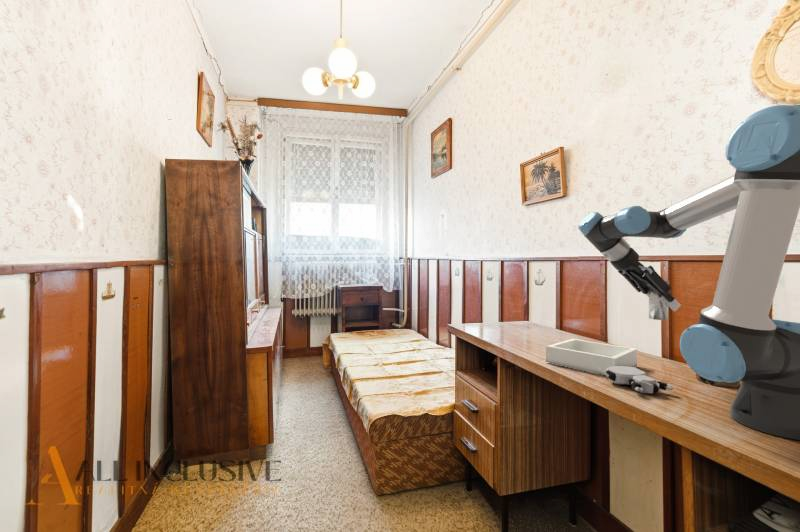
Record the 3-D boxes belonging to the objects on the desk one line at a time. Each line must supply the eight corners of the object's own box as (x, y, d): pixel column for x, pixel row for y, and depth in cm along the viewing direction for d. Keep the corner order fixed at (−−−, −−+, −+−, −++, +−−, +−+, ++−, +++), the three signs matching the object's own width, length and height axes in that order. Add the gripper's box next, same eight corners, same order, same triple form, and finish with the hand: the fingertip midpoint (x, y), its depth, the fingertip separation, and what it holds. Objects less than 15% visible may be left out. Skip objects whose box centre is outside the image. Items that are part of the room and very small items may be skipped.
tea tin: (666, 320, 110) (666, 281, 111) (646, 318, 114) (646, 280, 114) (670, 319, 114) (670, 281, 114) (650, 317, 118) (651, 280, 118)
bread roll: (741, 401, 103) (756, 377, 103) (704, 383, 105) (718, 359, 105) (718, 390, 113) (731, 368, 112) (685, 373, 115) (698, 351, 114)
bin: (614, 378, 111) (615, 358, 111) (545, 363, 128) (546, 346, 128) (636, 366, 126) (637, 348, 126) (572, 353, 142) (572, 338, 143)
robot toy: (676, 399, 97) (631, 378, 111) (678, 383, 96) (633, 363, 111) (636, 401, 95) (596, 379, 109) (638, 384, 94) (597, 364, 109)
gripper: (595, 262, 123) (641, 312, 123) (630, 261, 105) (685, 319, 105) (610, 247, 123) (657, 296, 123) (648, 244, 105) (703, 301, 105)
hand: (669, 307), depth 114 cm, fingers closed on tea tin, 5 cm apart
